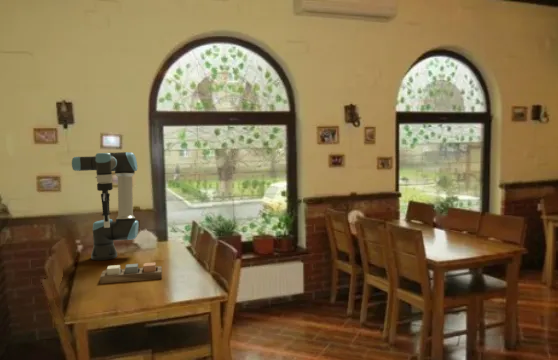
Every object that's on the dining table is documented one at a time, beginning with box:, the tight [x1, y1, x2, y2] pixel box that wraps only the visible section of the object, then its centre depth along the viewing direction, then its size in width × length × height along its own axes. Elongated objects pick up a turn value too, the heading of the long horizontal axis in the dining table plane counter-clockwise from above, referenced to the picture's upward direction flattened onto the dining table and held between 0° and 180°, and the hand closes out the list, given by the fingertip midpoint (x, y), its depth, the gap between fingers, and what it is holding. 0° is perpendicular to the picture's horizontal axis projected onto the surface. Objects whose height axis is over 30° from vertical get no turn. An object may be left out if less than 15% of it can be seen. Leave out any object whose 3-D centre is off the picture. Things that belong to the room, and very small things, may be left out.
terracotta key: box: [143, 261, 157, 272], centre depth 254 cm, size 6×6×4 cm
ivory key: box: [106, 264, 122, 275], centre depth 250 cm, size 6×6×4 cm
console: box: [99, 265, 163, 285], centre depth 252 cm, size 12×30×4 cm, turn 103°
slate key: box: [124, 263, 139, 274], centre depth 252 cm, size 6×6×4 cm
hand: (106, 227), depth 253 cm, fingers closed
